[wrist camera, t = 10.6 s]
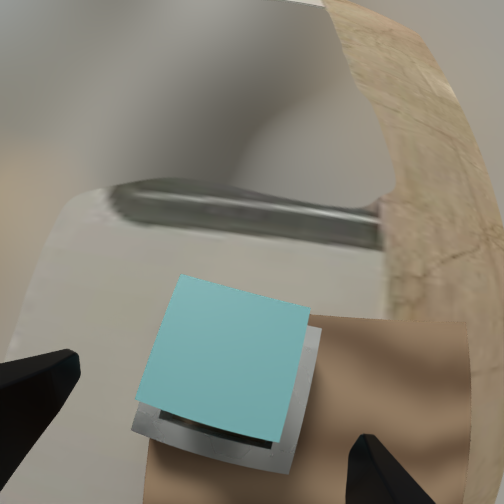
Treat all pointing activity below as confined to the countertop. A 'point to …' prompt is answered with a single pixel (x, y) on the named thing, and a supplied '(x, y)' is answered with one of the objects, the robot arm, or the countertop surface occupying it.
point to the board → (349, 420)
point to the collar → (234, 448)
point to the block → (226, 358)
